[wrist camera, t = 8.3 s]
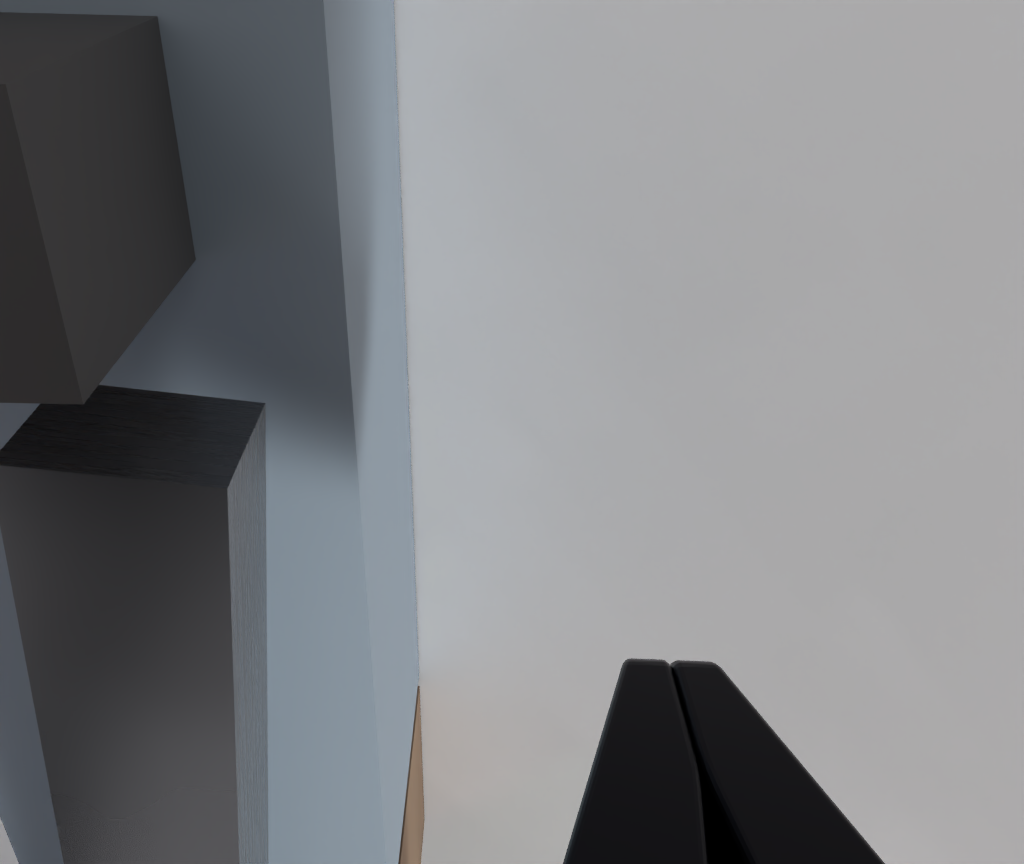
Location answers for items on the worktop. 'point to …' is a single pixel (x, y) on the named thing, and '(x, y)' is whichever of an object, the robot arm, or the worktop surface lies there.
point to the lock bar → (145, 621)
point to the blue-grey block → (231, 345)
